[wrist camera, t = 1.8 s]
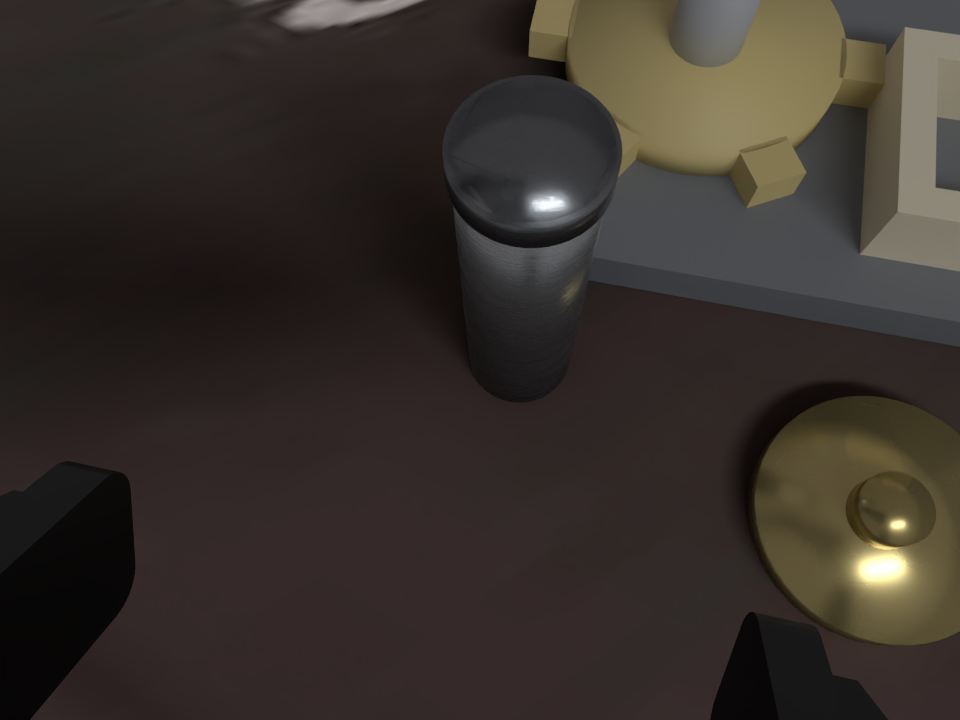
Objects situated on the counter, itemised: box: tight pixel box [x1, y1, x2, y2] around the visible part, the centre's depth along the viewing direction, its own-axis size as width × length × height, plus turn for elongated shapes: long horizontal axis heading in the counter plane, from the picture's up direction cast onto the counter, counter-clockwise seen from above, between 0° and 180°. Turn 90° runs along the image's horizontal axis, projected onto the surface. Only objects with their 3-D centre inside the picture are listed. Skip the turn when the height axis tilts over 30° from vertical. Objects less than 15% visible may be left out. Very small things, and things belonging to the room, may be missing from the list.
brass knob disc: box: [748, 396, 960, 645], centre depth 23 cm, size 7×7×2 cm
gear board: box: [529, 0, 960, 347], centre depth 25 cm, size 20×14×6 cm
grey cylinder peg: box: [442, 75, 622, 402], centre depth 20 cm, size 3×3×11 cm
